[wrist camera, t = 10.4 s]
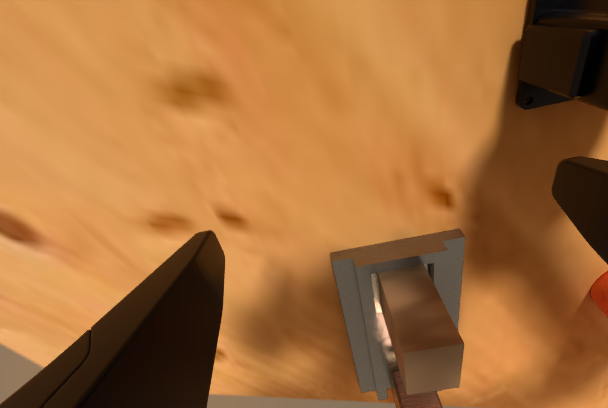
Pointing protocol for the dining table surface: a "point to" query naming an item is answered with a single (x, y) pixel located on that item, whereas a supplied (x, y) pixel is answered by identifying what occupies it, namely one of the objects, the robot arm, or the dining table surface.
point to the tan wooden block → (420, 330)
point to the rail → (367, 307)
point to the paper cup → (601, 293)
